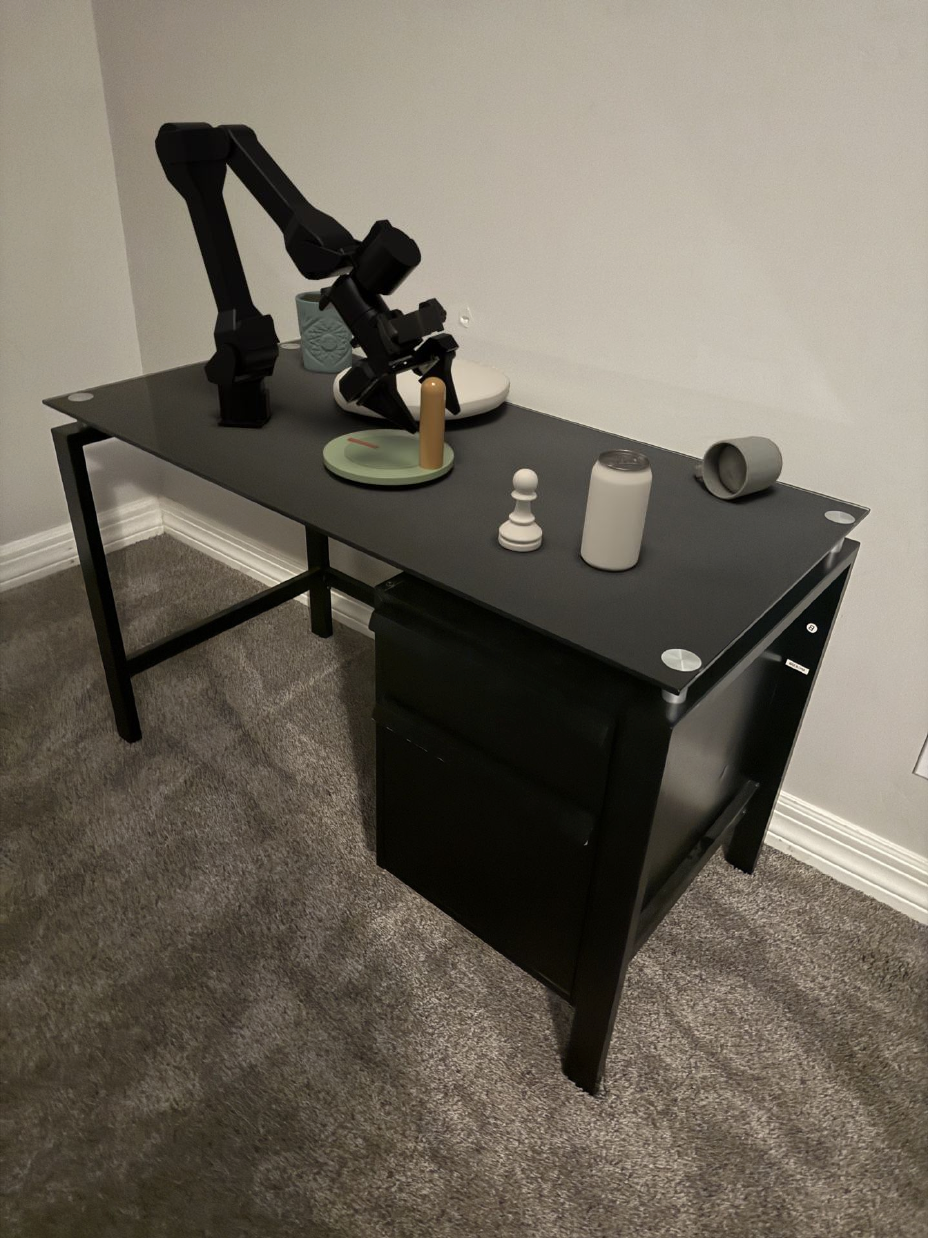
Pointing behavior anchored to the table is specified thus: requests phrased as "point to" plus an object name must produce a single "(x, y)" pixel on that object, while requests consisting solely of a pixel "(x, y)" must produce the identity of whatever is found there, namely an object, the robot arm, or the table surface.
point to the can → (616, 510)
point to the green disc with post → (397, 447)
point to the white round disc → (471, 380)
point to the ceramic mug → (740, 466)
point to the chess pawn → (522, 516)
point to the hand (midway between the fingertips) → (437, 422)
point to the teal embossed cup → (322, 336)
